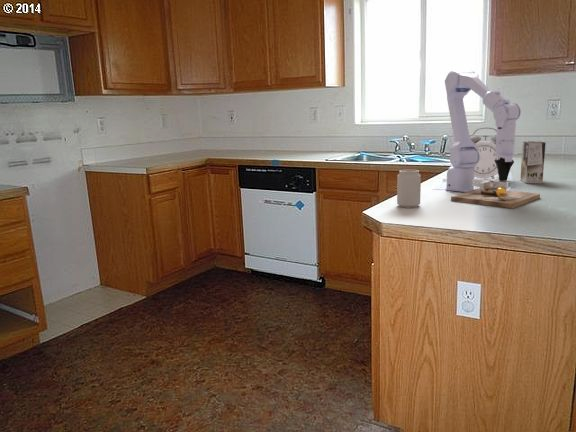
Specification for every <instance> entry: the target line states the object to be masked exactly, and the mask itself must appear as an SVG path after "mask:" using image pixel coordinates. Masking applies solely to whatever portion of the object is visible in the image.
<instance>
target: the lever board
mask: <svg viewBox="0 0 576 432" xmlns="http://www.w3.org/2000/svg"><path fill="white" fill-rule="evenodd" d="M477 188H478V187H477ZM540 198H541V193H537V192H527V191H517V190H509V189H506V194H505V195H504V196H503V197H499V196H498V195H490V194H483V193H481V190H480V187H479V188H478V189H475V190H472V191H468V192H461V193H458V194H454V195H452V196H450V201H451V202H457V203H465V204H472V205H473V204H474V205H481V206H489V207H497V208H504V207H505V208H507V209H512V208H513V209H515V208H518V207H520V206H522V205H525V204H527V203H531V202H533V201H536V200H538V199H540Z"/></svg>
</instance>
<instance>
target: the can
mask: <svg viewBox="0 0 576 432" xmlns="http://www.w3.org/2000/svg"><path fill="white" fill-rule="evenodd" d="M419 172H420V170H417V169H400V170H399V173H398V174H397V176H396V177H397V179H396V180H397V181H396V182H397V183H396V185H397V189H396V194H397V195H396V205H398V206H399V207H400V208H403V209H404V208H405V209H413V208H418V207H419V206H420V205H421V191H422V190H421V186H422V185H421V180H422V179H421V177H422V174H420V173H419Z"/></svg>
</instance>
